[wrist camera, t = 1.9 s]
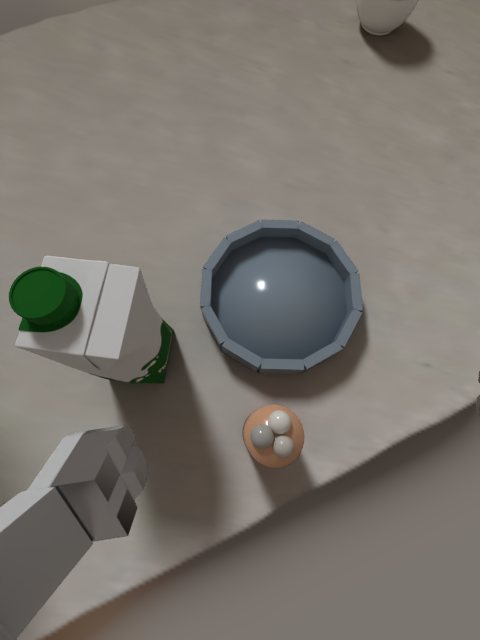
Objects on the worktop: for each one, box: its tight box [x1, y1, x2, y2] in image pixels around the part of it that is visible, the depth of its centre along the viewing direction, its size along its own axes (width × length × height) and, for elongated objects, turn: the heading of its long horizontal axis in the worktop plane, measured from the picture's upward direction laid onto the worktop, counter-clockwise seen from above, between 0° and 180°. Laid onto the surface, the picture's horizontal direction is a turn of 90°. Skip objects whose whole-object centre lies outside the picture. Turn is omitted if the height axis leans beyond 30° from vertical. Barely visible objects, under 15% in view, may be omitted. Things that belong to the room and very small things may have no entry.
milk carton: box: [9, 256, 174, 383], centre depth 33 cm, size 9×9×20 cm
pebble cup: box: [242, 405, 304, 468], centre depth 35 cm, size 6×6×10 cm
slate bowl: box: [200, 220, 363, 374], centre depth 43 cm, size 20×20×4 cm
